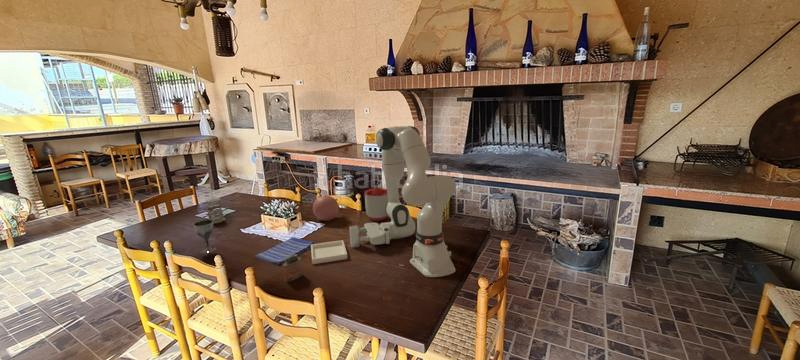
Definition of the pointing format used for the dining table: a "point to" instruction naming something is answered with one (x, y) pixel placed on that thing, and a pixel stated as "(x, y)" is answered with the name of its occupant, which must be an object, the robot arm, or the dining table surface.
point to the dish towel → (285, 250)
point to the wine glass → (205, 233)
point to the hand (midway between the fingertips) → (358, 234)
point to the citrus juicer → (376, 203)
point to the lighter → (292, 268)
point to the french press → (217, 215)
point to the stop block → (354, 236)
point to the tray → (328, 252)
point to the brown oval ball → (325, 208)
